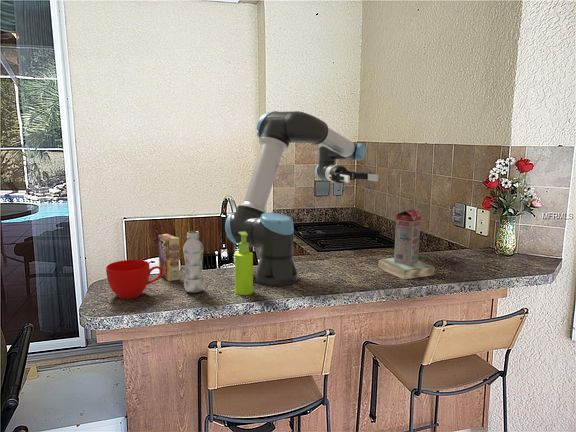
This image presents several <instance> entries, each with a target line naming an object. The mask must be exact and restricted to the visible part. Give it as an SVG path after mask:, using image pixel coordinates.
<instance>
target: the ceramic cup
mask: <svg viewBox="0 0 576 432" xmlns="http://www.w3.org/2000/svg"><path fill="white" fill-rule="evenodd" d="M157 269H158V270H159V269H160V274H159V275H158V276H157V277H155V278H153V279H152V280H149V279H150V275H151V273H152V271H153V270H157ZM105 270H106V278H107V281H108V285H109V287H110V289H111V291H112V292H113V293H114V294H115V295H116V296H117V297H118V298H120V299H124V300H129V299H135V298H138V297H140V296H141V295H142V293H143V292H144V291H145V289H146V288H147V286H148V285H150V284H152V283H155V282H156V281H158V280H159V279H160V278H161V275H162V268H161V267H159V265H156V266H152V267H150V263H149V262H148V261H145V260H141V259H124V260H119V261H115V262H112V263H109V264H108V265H106V268H105Z"/></svg>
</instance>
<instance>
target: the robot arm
mask: <svg viewBox="0 0 576 432" xmlns="http://www.w3.org/2000/svg"><path fill="white" fill-rule="evenodd" d="M256 124H257V125H256V135H257V137H258V142H259V144H260V149H259V152H258V155H257V157H256V161H255V165H254V168H253V170H252V173H251V177H250V180H249V183H248V185H247V186H248V187H247V189H246V193H245V195H244V199H243V201H242V202H241V203H240V204H238V205H237V208H236V211H234V212H233V211H232V212H231V213H230V214H228V215H227V217H226V220H225V223H224V224H225V225H224V229H225V233H226V237H227V238H228V240H229V241H230V242H231V243H233V244H237V245H239V243H240V242H241V235H240V234H239V232H244V231H245V232H246V233H247V234H248V236H246V242H248V243H249V247H253V248H258V249H259V250H260V255H259V257H260V259H259V262H258V264H257V267H256V270H255V281H256V282H257V283H259V284H262V285H266V286H274V287H275V286H277V287H278V286H279V287H280V286H281V287H282V286H288V285H292V284H294V283H296V282H297V281H298V280H299V279H298V277H299V276H298V275H299V274H298V270H297V268H296V264H295V261H294V233H295V229H294V221H293V219H292V217H290V216H288V215H286V214H284V213H278V212H267V210H266V208H267V204H268V200H269V198H270V195H271V191H272V188H273V184H274V182H275V179H276V175H277V172H278V169H279V168H278V167H279V165H280V163H281V158H282V155H283V153H284V152H287V150H288V149H289V146H290V143H309V144H312V145H315V146H317V145H318V150H319V151H318V155H319V156H318V159H319V160H318V164H317V165H316V167H315V169H314V175H315V176H316V178H318V179H319V180H322V181H327V182H332V184H335V183H337V184H344V183H347V184H348V183H349V184H350V182H351V181H350V180H352V181H354V180H367V181H371V182H379V174H374V173H373V172H372V171H369V172H361V171H359V172H358V171H351V170H348V168H346V166H343V165H337V164H336V160H343V161H344V160H346V161H362V160H365V158H366V154H367V147H366V145H365V143H361V142H353V141H351V140H350V139H348V138H347V137H345V136H343V135H342V134H340V133H338V132H337V131H335V130H333V129H331V128H330V127H329V126H328V124H327V123H326V122H325V121H323V120H322V119H320V118H318V117H317V116H314V115H312V114H310V113H307V112H304V111H295V110H293V111H276V110H274V111H270V112H269V111H268V112H265V113H262V115H261V116H260V117H259V119H258V121H257V123H256Z"/></svg>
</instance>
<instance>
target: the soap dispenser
mask: <svg viewBox="0 0 576 432" xmlns="http://www.w3.org/2000/svg"><path fill="white" fill-rule="evenodd" d="M239 234H240V235H241V242H240V243H239V244H238V251H237V252H235V253H234V293H235V294H236V295H238V296H250V295H252V294H254V254H253V252H251V251H250V246H249V243H248V242H246V236H248V234H247V233H246V232H245V231H244V232H239Z"/></svg>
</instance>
